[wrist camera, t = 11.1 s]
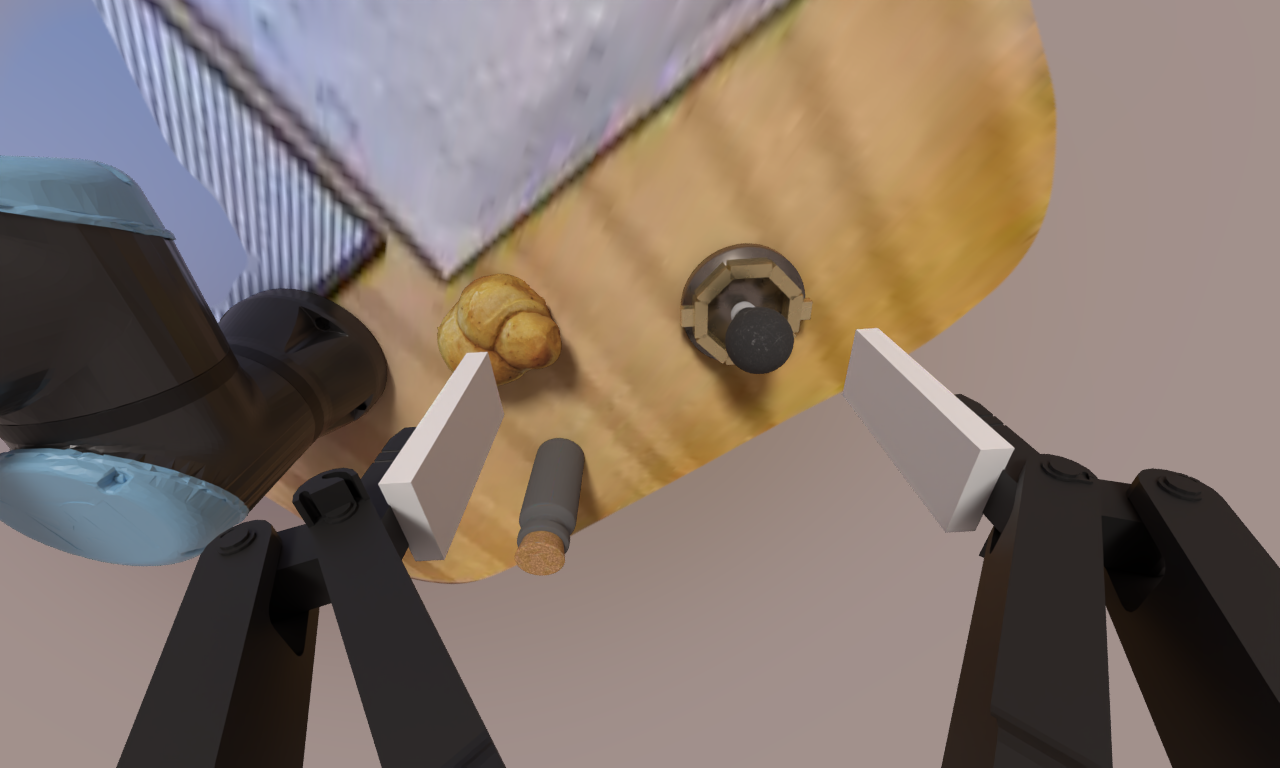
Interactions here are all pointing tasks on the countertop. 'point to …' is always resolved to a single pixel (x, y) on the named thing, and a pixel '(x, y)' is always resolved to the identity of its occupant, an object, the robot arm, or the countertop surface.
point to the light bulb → (758, 338)
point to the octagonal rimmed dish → (739, 293)
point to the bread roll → (500, 328)
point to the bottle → (550, 507)
